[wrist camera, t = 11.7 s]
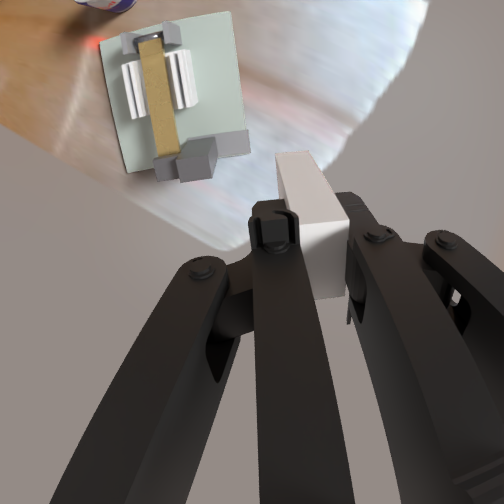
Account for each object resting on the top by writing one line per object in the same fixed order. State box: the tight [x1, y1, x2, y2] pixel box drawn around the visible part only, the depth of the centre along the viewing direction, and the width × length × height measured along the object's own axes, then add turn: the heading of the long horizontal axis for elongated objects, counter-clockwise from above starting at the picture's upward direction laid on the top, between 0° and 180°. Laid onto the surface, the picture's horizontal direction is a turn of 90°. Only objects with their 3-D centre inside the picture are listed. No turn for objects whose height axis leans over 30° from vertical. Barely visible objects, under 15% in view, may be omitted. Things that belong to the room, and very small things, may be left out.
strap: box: [134, 30, 181, 157], centre depth 37 cm, size 19×4×1 cm, turn 7°
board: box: [99, 11, 251, 173], centre depth 39 cm, size 22×20×8 cm
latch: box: [152, 137, 218, 183], centre depth 42 cm, size 3×8×10 cm, turn 97°
